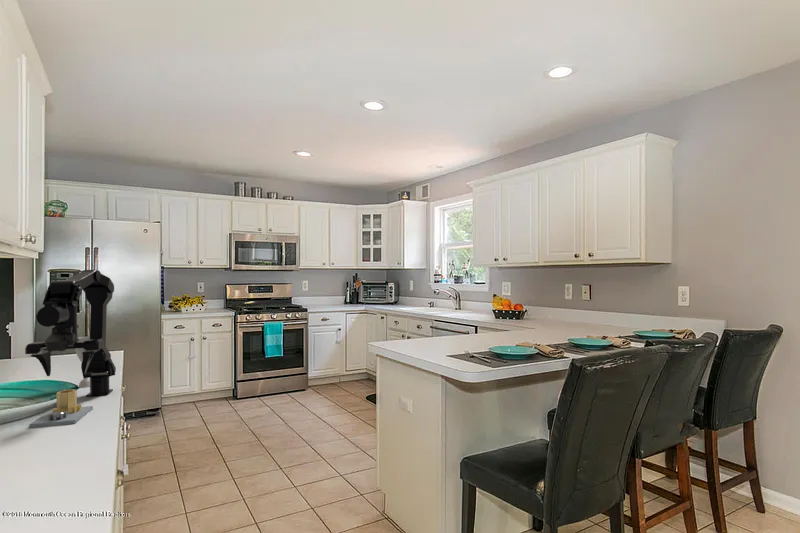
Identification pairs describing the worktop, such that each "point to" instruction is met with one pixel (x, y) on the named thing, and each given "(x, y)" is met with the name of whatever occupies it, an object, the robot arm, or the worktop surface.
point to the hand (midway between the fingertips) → (66, 374)
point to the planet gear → (67, 401)
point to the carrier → (60, 417)
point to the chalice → (85, 381)
